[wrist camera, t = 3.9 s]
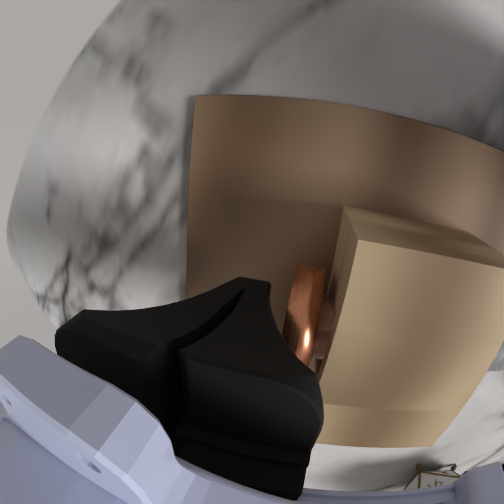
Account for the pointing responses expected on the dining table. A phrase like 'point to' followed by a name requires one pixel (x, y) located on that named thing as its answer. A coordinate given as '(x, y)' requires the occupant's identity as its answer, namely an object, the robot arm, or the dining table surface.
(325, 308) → the pin
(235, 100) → the block
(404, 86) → the dining table surface
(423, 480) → the game die
